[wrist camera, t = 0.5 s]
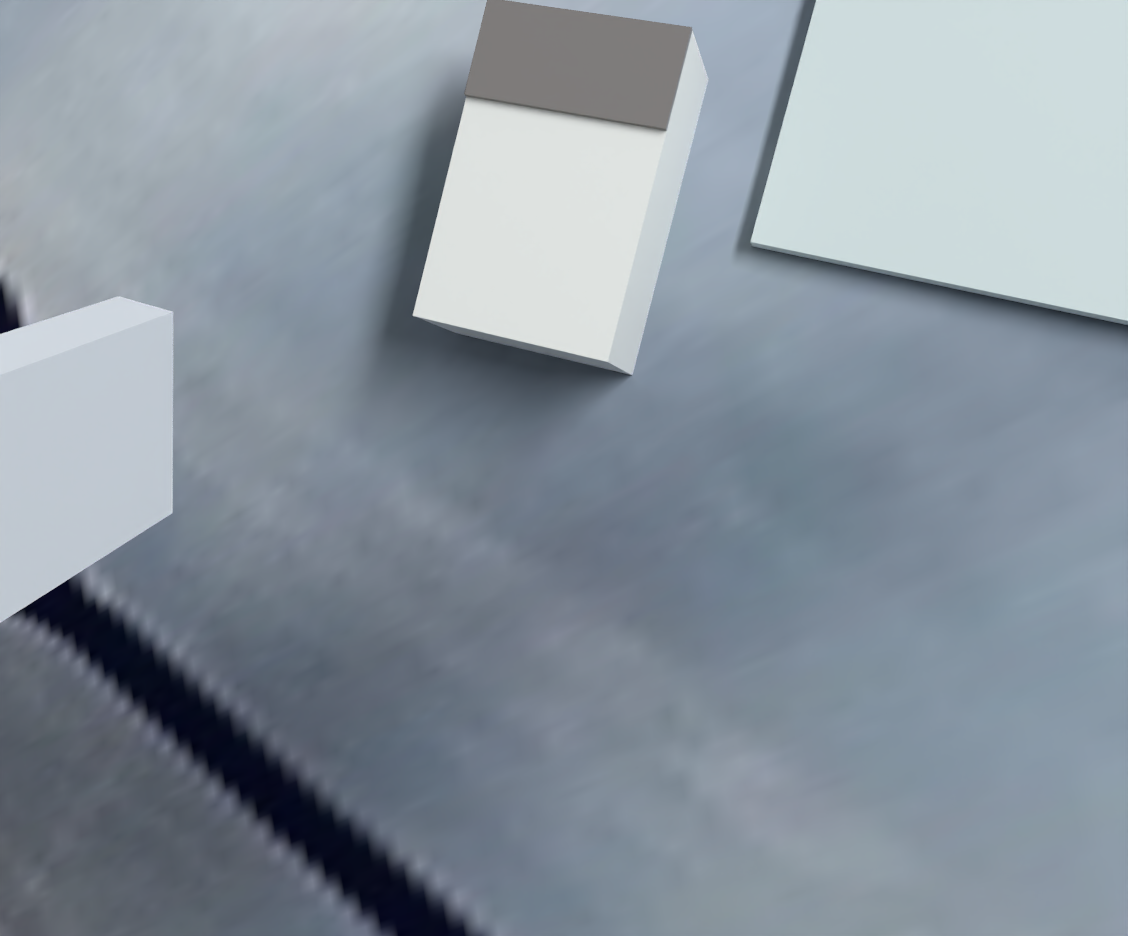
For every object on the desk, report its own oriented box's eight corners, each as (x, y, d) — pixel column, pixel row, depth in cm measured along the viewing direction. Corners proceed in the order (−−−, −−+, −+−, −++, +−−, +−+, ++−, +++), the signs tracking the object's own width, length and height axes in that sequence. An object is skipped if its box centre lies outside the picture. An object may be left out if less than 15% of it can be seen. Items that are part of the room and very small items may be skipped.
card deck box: (633, 376, 34) (606, 360, 30) (458, 334, 36) (410, 314, 32) (709, 82, 34) (691, 27, 30) (528, 54, 35) (488, -3, 31)
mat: (1226, 345, 29) (1234, 343, 29) (751, 246, 33) (750, 241, 32) (1370, -137, 29) (1381, -150, 28) (869, -186, 32) (870, -198, 32)
